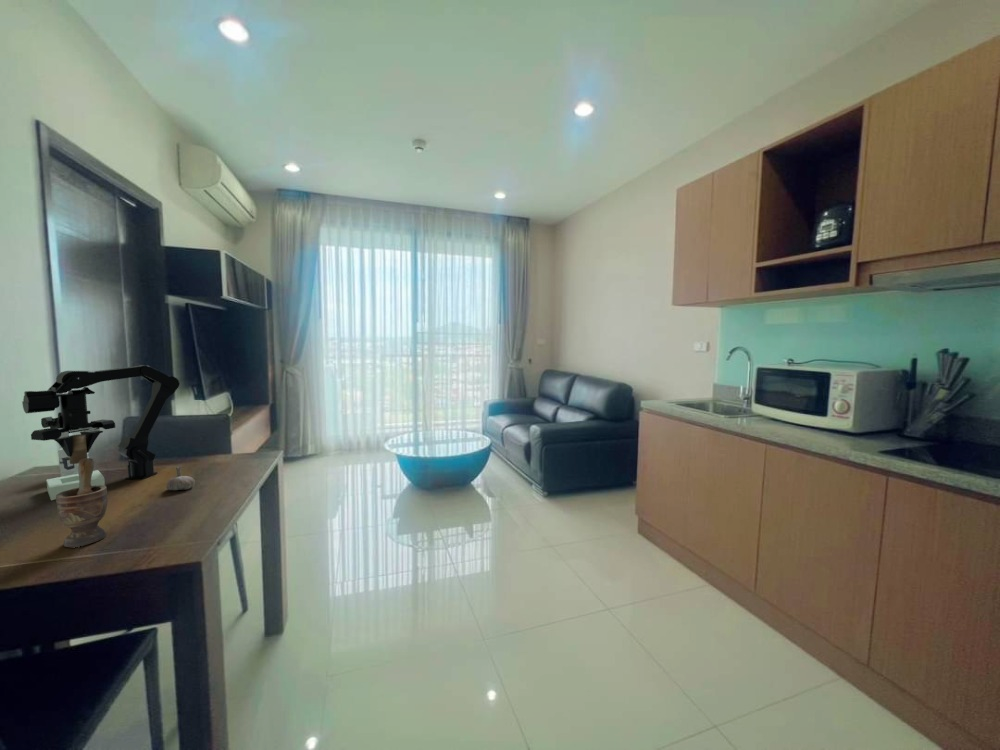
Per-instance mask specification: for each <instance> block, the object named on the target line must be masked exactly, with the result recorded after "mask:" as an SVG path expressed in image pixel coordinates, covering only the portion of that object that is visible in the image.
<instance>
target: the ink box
mask: <svg viewBox="0 0 1000 750" xmlns="http://www.w3.org/2000/svg"><path fill="white" fill-rule="evenodd" d="M57 453H58V464H59V473H60V474H59V475H60V477H63V476H69V475H74V474H79V473H78V464H79V463H78V464H70V459H69V457H68V456H67V454H66V453H65V451H64V450H63V449H62V447H61V448H58V449H57ZM89 456H90V455H89V452H88V453H87V458H90V457H89Z"/></svg>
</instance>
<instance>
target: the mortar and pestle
mask: <svg viewBox="0 0 1000 750" xmlns="http://www.w3.org/2000/svg"><path fill="white" fill-rule="evenodd" d="M94 468H95V461H94V458H90V457H89V458H85V459H82V460H80V462H79V464H78V473H79V488H74V489H70V490H67V491H64V492H61V493H59V494H57V495H56V499H55V500H56V501H55V502H56V509H57V515H58V518H59V520H60V523H61V524H62V525H63V526H64V527H66V528H68V529H70V531H71V533H70V534H68V535H67V536H66V537H65V538H64V540H63V543H62V544H63V547H65V548H75V547H78V548H81V547H84V546H88V545H90V544H93V543H96V542H98V541H100V540H102V539H104V538H105V537H106V536H107V532H106V531H105V529H103V528H102V527H100V526H99V525H98V524H99V522H100V521H102V519H103V518H104V517H105V515H106V511H107V508H108V488H107V485H105V486H102V485H98V486H97V485H94V486H91V477H92V473H93V471H94ZM80 546H81V547H80ZM75 549H76V548H75Z"/></svg>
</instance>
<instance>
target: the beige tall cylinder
mask: <svg viewBox="0 0 1000 750" xmlns="http://www.w3.org/2000/svg"><path fill="white" fill-rule="evenodd" d="M69 437H73V452H72V456H71V457H69V459H70V464H78V463H79V462H80V460H82V459H85V458H87V446H86V435H85V434H81V433H80V434H72V435H69Z"/></svg>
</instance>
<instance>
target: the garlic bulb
mask: <svg viewBox="0 0 1000 750" xmlns="http://www.w3.org/2000/svg"><path fill="white" fill-rule="evenodd" d="M176 474H177V475H176V476H175V477H172V478H170V479H169V480H167V484H166V489H167V490H168V491H178V490H183V491H184V490H188V489H191V488H193V487H194V486H195V484H196V481H195V479H194V478H193V477H192V476H187V475H182V471H181V467H180V466H178V467H176Z"/></svg>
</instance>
